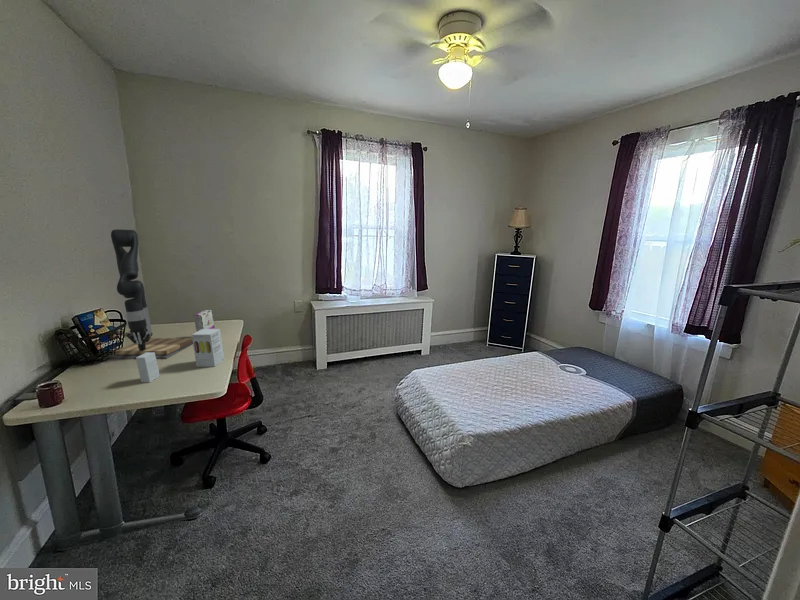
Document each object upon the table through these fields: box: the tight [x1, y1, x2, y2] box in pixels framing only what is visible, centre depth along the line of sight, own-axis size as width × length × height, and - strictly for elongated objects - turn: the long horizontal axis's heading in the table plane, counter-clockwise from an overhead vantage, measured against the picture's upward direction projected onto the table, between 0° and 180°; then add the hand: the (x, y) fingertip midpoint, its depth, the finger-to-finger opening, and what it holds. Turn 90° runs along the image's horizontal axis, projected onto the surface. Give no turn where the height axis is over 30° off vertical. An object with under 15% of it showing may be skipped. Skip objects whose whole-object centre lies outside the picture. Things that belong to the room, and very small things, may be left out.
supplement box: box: [191, 328, 225, 368], centre depth 164 cm, size 10×9×17 cm
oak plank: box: [115, 344, 180, 355], centre depth 179 cm, size 28×10×2 cm, turn 88°
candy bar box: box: [193, 309, 216, 332], centre depth 201 cm, size 11×5×16 cm, turn 179°
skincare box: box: [135, 352, 161, 383], centre depth 148 cm, size 6×4×12 cm
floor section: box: [109, 337, 193, 360], centre depth 184 cm, size 30×24×3 cm
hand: (142, 350), depth 175 cm, fingers closed
